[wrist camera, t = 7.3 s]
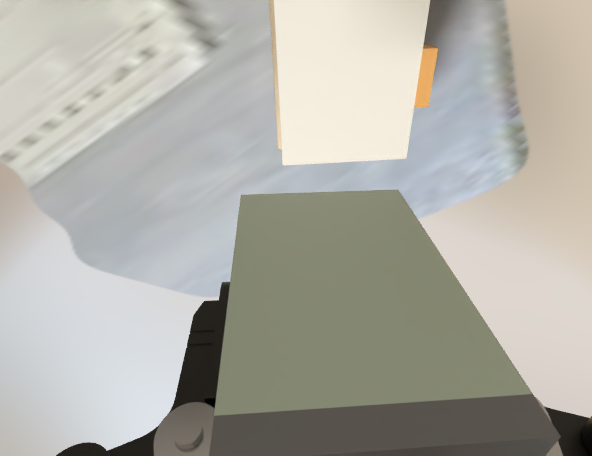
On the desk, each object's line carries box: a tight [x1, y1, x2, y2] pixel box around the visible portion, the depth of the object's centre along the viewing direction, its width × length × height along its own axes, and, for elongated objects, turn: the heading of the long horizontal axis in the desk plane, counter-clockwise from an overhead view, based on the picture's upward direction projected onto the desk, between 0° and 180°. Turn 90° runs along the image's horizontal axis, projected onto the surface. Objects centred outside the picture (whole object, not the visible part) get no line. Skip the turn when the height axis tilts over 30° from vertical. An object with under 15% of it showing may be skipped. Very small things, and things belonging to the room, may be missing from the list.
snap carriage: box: [274, 0, 438, 165], centre depth 20 cm, size 8×9×2 cm
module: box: [209, 190, 561, 456], centre depth 9 cm, size 5×6×7 cm
